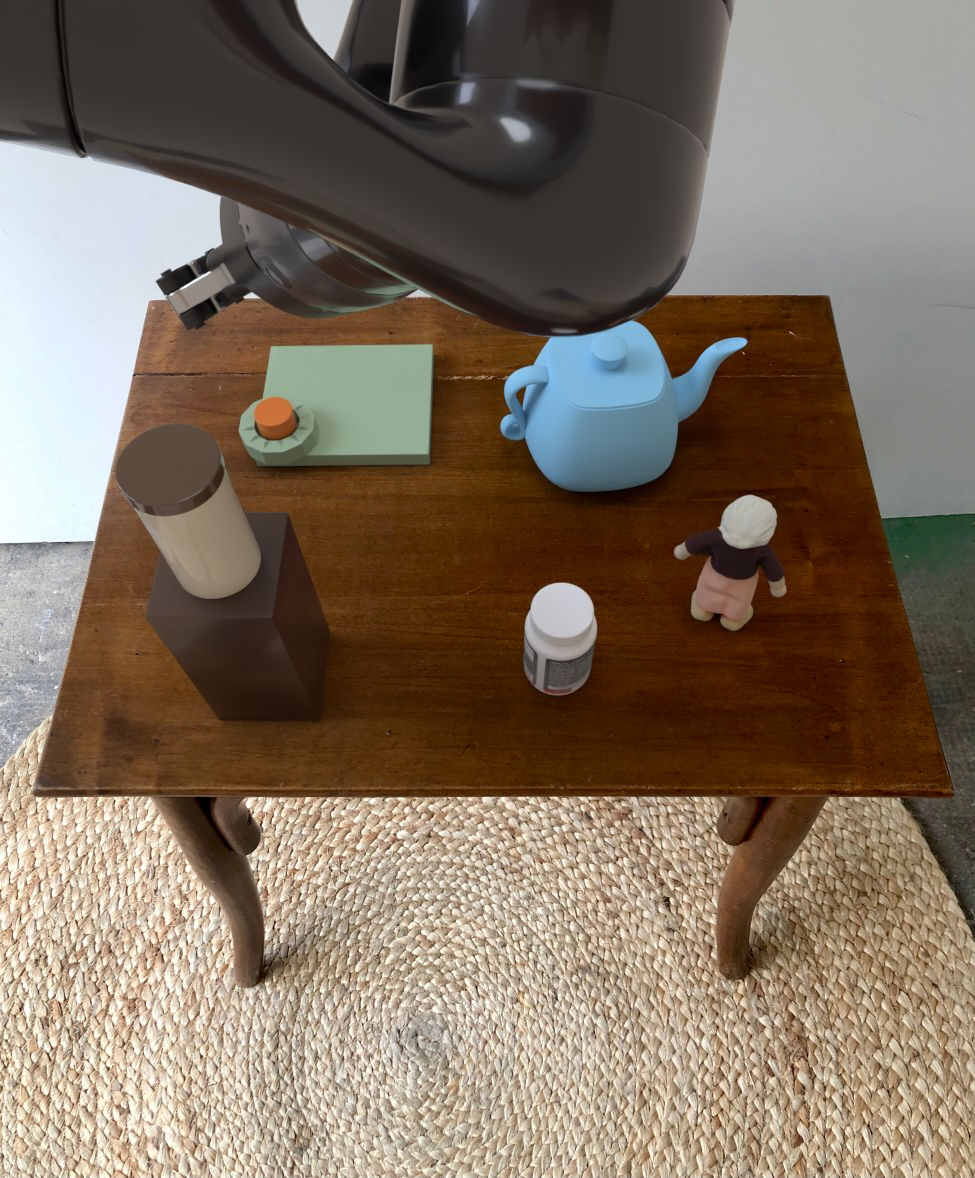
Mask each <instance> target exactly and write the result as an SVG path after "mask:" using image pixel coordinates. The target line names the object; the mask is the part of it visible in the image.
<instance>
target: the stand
mask: <svg viewBox="0 0 975 1178" xmlns="http://www.w3.org/2000/svg"><path fill="white" fill-rule="evenodd" d="M244 512H245V515H246V517H247V519H248V522H249V524H250V526H251V529H252V531H253V533H254V536H255V538H256V540H257V543H258V545H259V548H260V551H261V563H260V567H259V570H258V572H257V574H256V575H255V577H254V578H253V580H252V581H251V582H250V583H249V584H248V585H247V586H246V587H245V588H243V589H242V590H240V591H239V592H237V593H235V594H233V595H230V596H228V597H224V598H219V599H205V598H200V597H197V596H194V595H192V594H190V593H189V592H187V591H186V590H185V589H184V588H183V587H182V586H181V585H180V583H179V582H178V580H177V579H176V577H175V575H174V574H173V572H172V570H171V569H170V567H169V565H168V564H167V562H166V560H165V559H164V557H163V555H162V554H161V552H160V551H159V554H158V559H157V563H156V567H155V573H154V577H153V581H152V585H151V589H150V594H149V598H148V601H147V607H146V611H145V616H144V617H145V619H146V620H147V621H148V623H149V624H150V626H151V627H152V629H153V630H154V631H155V633H156V634H157V636H158V637H159V638H160V639H161V642H162V643H163V644H164V646H165V647H166V648H167V650H168V651H169V653H170V654H171V655H172V656H173V658H174V659H175V661H176V662H177V663H178V665H179V666H180V667H181V669H182V671H184V674H185V675H186V676H187V677H188V679H189V680H190V682H191V683H192V684H193V686H194V687H195V689H196V690H197V691H198V693H199V694H200V695H201V697H202V698H203V700H204V701H205V702H206V704H207V705H208V707H209V708H210V710H211V711H212V712H213V714H214V715H215V717H216V718H217V720H219V721H298V722H299V721H300V722H301V721H309V722H312V721H313V722H315V721H317V722H318V721H320V720H321V715H322V714H321V713H322V705H323V696H324V687H325V680H326V670H327V660H328V651H329V643H330V634H331V630H330V628H329V625H328V621H327V619H326V616H325V612H324V610H323V607H322V605H321V602H320V598H319V596H318V594H317V591H316V589H315V585H314V582H313V580H312V577H311V575H310V571H309V568H308V566H307V565H308V564H307V563H306V562H307V561H306V560H305V557H304V554H303V552H302V548H301V545H300V543H299V539H298V537H297V534H296V532H295V529H294V526H293V523H292V520H291V517H290V515H289V512H287V511H284V512H282V511H280V512H279V511H256V512H255V511H244Z"/></svg>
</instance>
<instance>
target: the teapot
mask: <svg viewBox="0 0 975 1178" xmlns="http://www.w3.org/2000/svg"><path fill="white" fill-rule="evenodd" d="M747 344H748V340H747V339H746V338H744V337H730V338H724V339H722V340H719V341H716V342H715V343H713V344H712V345H710V346H709V347H707V348H706V349H705V350H704V351H703V352H702V354H700V356H699V357H698V358H697V360H696V362H695V363H694V365H693V366H692V367H691V368H690V369H689V370H688V371H687V372H685V373H684V374H682V375H680V376H678V377H675V378H672V375H671V373H670V369H669V367H668V364H667V362H666V359H665V357H664V355H663V353H662V350H661V348H660V347H659V345H658V343H657V341H656V339H655V338H654V336H653V334H652V333H651V332H650V331H649V329H648V328H647V327H646V326H644V325H643V324H641V323H639V322H637V321H635V320H633V321H630V322H628V323H625V324H623V325H620V326H618V327H615V328H613V329H610V330H607V331H605V332H600V333H595V334H590V335H585V336H579V337H562V338H555V337H549V339H548V340H547V342H546V343H545V345H544V347H543V348H542V349H541V350H540V352H539V355H538V356H537V357H536V360H535V361H534V363H533V365H528V366H524V367H521V368H520V369H517V370H515V371H514V372H513V373H511V374H510V375H509V377H508V378H507V379H506V381H505V384H504V386H503V387H504V388H503V390H504V391H503V394H504V399H505V402H506V405H507V407H508V410H509V411H510V412H511V414H507V415H505V416H504V417H503V418H502V420H501V421H500V426H499V427H500V432H501V434H502V435H503V437H505V438H506V439H507V440H511V441H521V440H524V439H525V441H526V444H527V447H528V450H529V452H530V454H531V457H532V459H533V460H534V462H535V464H536V466H537V467H538V469H539V470H540V471H541V472H542V474H543V475H544V476H545V478H547V480H549V481H550V482H551V483H552V484H554V485H556V486H557V487H559V488H561V489H563V490H566V491H570V492H579V493H580V492H582V493H588V492H589V493H591V492H592V493H593V492H594V493H595V492H610V491H618V490H623V489H630V488H635V487H638V486H641V485H645V484H648V483H649V482H651V481H653V480H656V479H657V478H659V477H660V476H661V475H663V474H664V473H665V472H666V470H667V469H668V468H669V467H670V466H671V464H672V461H673V459H674V455H675V452H676V446H677V441H678V434H679V433H678V432H679V431H678V429H679V423H680V422H683V421H684V420H686V419H687V418H689V417H690V416H691V415H693V414H694V413H696V411H698V409H699V408H700V407H701V406H702V404H703V402H704V401H705V399H706V397H707V394H708V392H709V389H710V387H711V384H712V381H713V378H714V375H715V373H716V372H717V370H718V368H719V366H720V365H721V363H722V362H723V361H724V360H726V359H727V358H728V357H729V356H731V355H733V354H734V353H736V352H738V351H739V350H742V349H743V348H744V347H746V345H747ZM525 387H526V388H525ZM523 388H525V392H524V395H523V396H524V397H523V403H522V406H521V404H520V402H519V400H518V398H517V393H518V392H519V391H520V390H522V389H523Z"/></svg>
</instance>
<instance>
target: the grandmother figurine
mask: <svg viewBox="0 0 975 1178" xmlns="http://www.w3.org/2000/svg"><path fill="white" fill-rule="evenodd" d="M777 518H778V514H777V510H776V508H774V507H773V504H772V503H771V502H770V501H768V500H766V499H764V498H761V497H759V496H755V495H753V494H747V495H743V496H741V497H739V498H737V499H735V500H734V501H733V502H731V503H730V504H728V505H727V507H726V508H725V509H724V511H723V513H722V516H721V521H720V525H719V526H718V527H717V529H711V530H707V531H702V532H699V533H697V534H695V535H691V536H689V537H687V538H686V539H685V540H684V542H682V543H681V544H678V545H677V546H675V548H674V549H673V554H674V557H675V558H676V559H678V560H680V561H683V560H686V559H687V558H689V557H691V556H707V557H708V558H707V559H706V561H705V563H704V565H703V567H702V570H701V572H700V575H699V578H698V580H697V583H696V584H697V585H696V589H695V590H694V591H693V592H692V595H691V606H690V613H691V616H692V617H693V618H694V619H696V620H698V621H701V622H708V621H711V619H713V617H714V615H715V614H721V615H720V618H719V621H720V624H721V625H722V627H724V628H725V629H727V630H728V631H732V632H735V631H738V630H739V629H741V628H742V627H743V626H745V624H747V623H748V622H749V621H750V620H751V619H752V617H753V615H754V609H753V606H752V602H753V598H754V594H755V592H756V589H757V586H758V585H757V584H758V581H759V577H760V576H759V567H760V568H761V570H762V572H763V574H764V576H765V577H766V579H767V582H768V585H769V587H770V588H769V589H770V593H771V595H772V596H773V597H774V598H775V597H776V598H781V597H783V596H784V595H785V594H787V585H786V580H785V575H786V573H785V570H784V568H783V566H782V564H781V562H780V560H779V558H778V556H777V555H776V553H775V551H774V550H773V548H772V547H771V546H770V545H769V544H768V543H769V542H770V540H771V538H772V537H773V536H774V534H775V530H776V527H777V524H778V523H777Z"/></svg>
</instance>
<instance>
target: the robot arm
mask: <svg viewBox="0 0 975 1178" xmlns="http://www.w3.org/2000/svg"><path fill="white" fill-rule="evenodd" d="M735 3H736V0H352V2H351V4H350V8H349V10H348V14H347V17H346V20H345V23H344V27H343V30H342V33H341V36H340V39H339V41H338V45H337V47H336V50H335V53H334V55H333V58H332V57H331V56H330V55H329V54H328V53H327V52H326V50H324V48H323V47H322V46H321V44H319V42H318V41H317V40H316V38H314V36H313V35H312V33H311V32H310V30H309V29H308V27H307V26H306V24H305V22H304V19H303V17H302V14H301V11H300V8H299V4H298V0H0V142H1V143H6V144H10V145H16V146H21V147H26V148H30V149H35V150H40V151H44V152H48V153H54V154H60V155H63V156H64V155H65V156H69V157H74V158H78V159H87V158H91V160H93V162H98V163H102V164H108V165H112V166H117V167H121V168H126V169H130V170H135V171H138V172H143V173H146V174H150V175H154V176H157V177H160V178H164V179H168V180H171V181H173V182H177V183H181V184H185V185H187V186H190V187H193V188H196V189H199V190H202V191H205V192H208V193H210V194H213V195H215V196H217V197H218V196H219V197H220V200H219V228H220V235H221V244H219V245H218V246H217V247H215V248H214V247H211V248H210V249H208V250H206V251H204V254H203V255H202V256H199V257H197V258H196V259H195V258H194V259H192V260H190V261H189V262H186V263H185V264H184V265H183V264H182V265H181V266H179V267H177V268H175V269H174V270H172V269H171V268H167V269H166V270H164V271H162V272H161V273H160V276H161V277H159V278H158V279H156V280H155V283H156V285H157V287H159V289H160V291H161V292H162V294H163V296H164V298H165V299H166V301H167V302H168V304H169V305H170V307H171V309H172V310H173V311H174V313H175V314H176V316H177V317H178V318H179V320H180V322H181V324H182V325H183V327H184V328H185V329H186V331H191V330H192V329H194V328H195V330H199V329H201V328H202V327H204V326H206V325H207V324H206V321H208V320H209V319H210V318H212V317H214V316H215V315H217V314H219V313H221V312H223V311H224V310H225V309H226V308H228V307H229V306H231V305H233V304H234V303H235V305H238V304H239V303H241V302H243V301H244V300H245V299H246V298H245V297H246V296H248V295H249V294H251V293H252V294H254V295H255V296H256V297H258V298H260V299H261V300H263V301H264V302H265V303H267V304H268V305H271V307H274V308H276V309H278V310H280V311H282V312H284V313H287V314H289V315H292V316H296V317H299V318H305V319H312V320H313V319H314V320H319V319H320V320H321V319H322V320H323V319H333V318H336V317H341V316H345V315H349V314H354V313H359V312H364V311H366V310H371V309H377V308H380V307H383V306H386V305H390V304H394V303H397V302H398V301H401V300H403V299H405V298H407V297H408V296H411V295H412V294H414V293H416V291H418V290H419V291H421V292H422V293H424V294H426V295H428V296H429V297H432V298H434V299H435V300H438V301H440V302H442V303H444V304H445V305H448V306H449V307H452V308H454V309H455V310H459V311H461V312H463V313H465V314H467V315H469V316H472V317H474V318H477V319H479V320H481V321H484V322H485V323H488V324H491V325H493V326H497V327H500V328H502V329H506V330H510V331H511V332H516V333H520V334H526V335H530V336H535V337H546V338H551V337H555V338H562V337H579V336H585V335H590V334H595V333H600V332H605V331H607V330H610V329H613V328H615V327H618V326H620V325H623V324H625V323H628V322H630V321H635V320H636V319H638V318H639V317H640V316H642V315H643V314H645V313H647V312H648V311H650V310H651V309H652V308H654V307H656V306H657V305H658V304H659V303H660V302H661V301H662V300H663V299H664V298H665V297H666V296H667V295H668V294H669V293H670V292H671V291H672V290H673V288H674V287H675V286H676V284H677V283H678V281H679V280H680V279H681V276H682V275H683V272H684V271H685V268H686V267H687V264H688V261H689V258H690V254H691V251H692V249H693V244H694V243H695V238H696V233H697V227H698V223H699V218H700V213H701V206H702V201H703V194H704V189H705V182H706V176H707V170H708V162H709V157H710V152H711V147H712V146H711V145H712V139H713V133H714V127H715V121H716V114H717V108H718V102H719V97H720V90H721V85H722V78H723V73H724V72H723V71H724V67H725V65H724V64H725V61H726V60H725V59H726V54H727V47H728V40H729V36H730V35H729V34H730V28H731V25H732V20H733V15H734V10H735Z"/></svg>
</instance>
